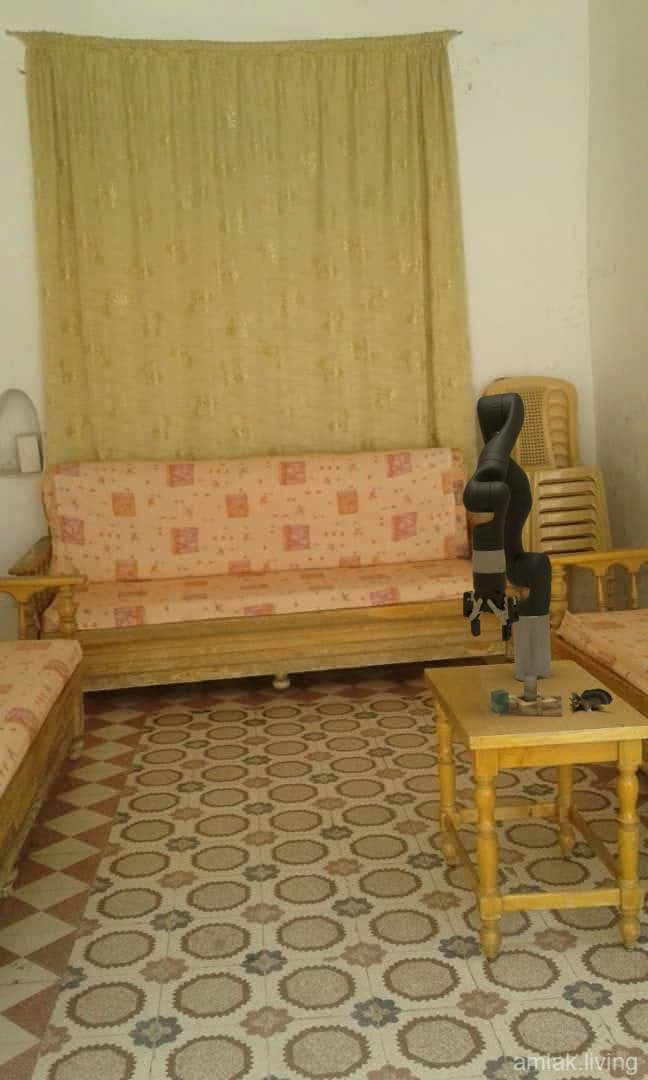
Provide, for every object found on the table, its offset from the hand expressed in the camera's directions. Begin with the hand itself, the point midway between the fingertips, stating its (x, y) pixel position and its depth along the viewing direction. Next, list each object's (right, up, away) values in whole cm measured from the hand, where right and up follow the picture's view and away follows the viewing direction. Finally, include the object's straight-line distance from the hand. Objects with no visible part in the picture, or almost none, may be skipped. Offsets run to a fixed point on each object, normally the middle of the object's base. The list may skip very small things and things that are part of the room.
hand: (491, 638), depth 242 cm
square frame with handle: (+8, -16, +3) cm, 18 cm away
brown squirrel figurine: (+22, -18, -2) cm, 29 cm away
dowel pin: (+10, -17, -4) cm, 20 cm away
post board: (+10, -17, +4) cm, 20 cm away
